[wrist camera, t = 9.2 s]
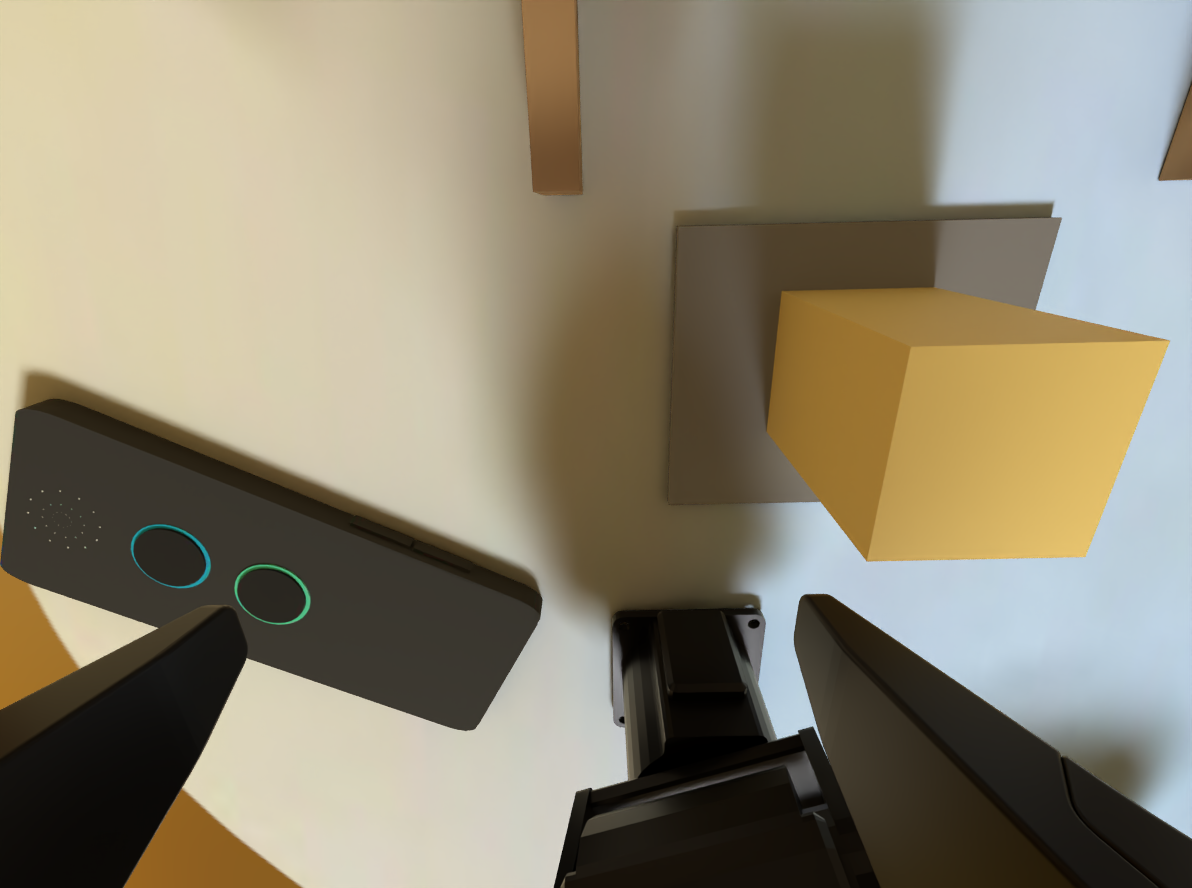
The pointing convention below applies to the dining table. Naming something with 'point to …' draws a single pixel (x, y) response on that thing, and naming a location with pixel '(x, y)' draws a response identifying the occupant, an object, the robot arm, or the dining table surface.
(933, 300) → the mustard block
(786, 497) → the gray panel
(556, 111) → the wooden u-shaped frame
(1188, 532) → the dining table surface
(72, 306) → the dining table surface
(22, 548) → the smart home device
